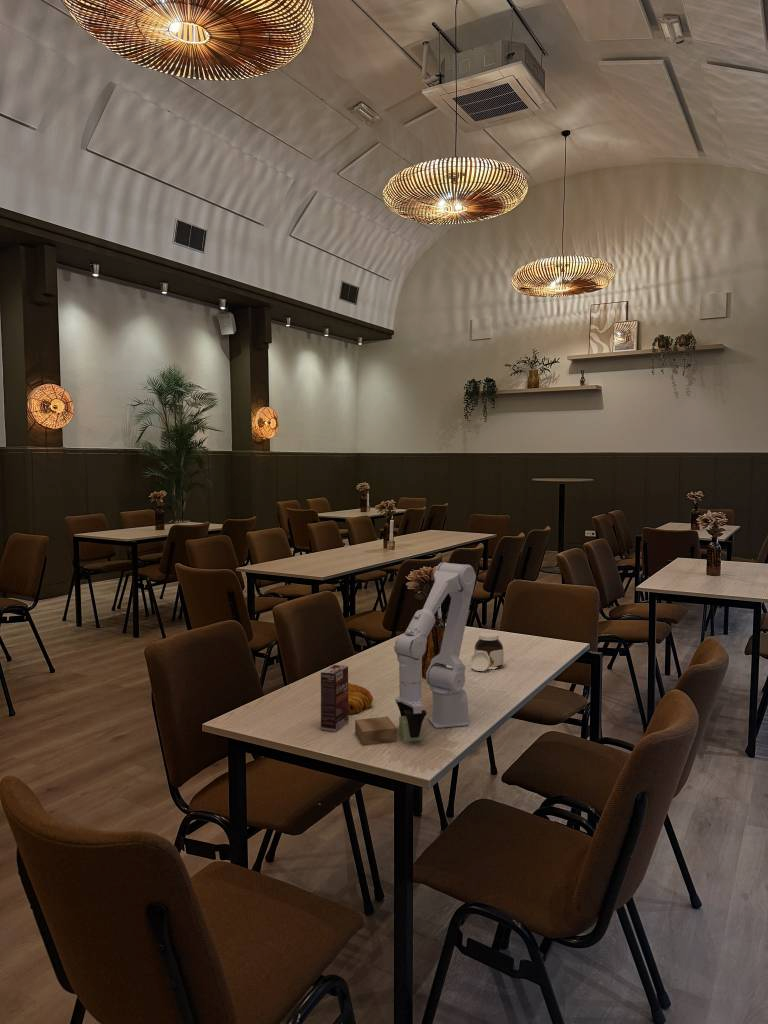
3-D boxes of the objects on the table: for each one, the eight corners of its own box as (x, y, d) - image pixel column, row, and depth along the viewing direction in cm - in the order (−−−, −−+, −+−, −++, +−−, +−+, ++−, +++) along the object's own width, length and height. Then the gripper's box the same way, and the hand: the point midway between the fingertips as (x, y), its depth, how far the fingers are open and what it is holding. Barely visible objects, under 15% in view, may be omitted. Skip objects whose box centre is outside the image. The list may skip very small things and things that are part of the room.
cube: (417, 733, 192) (417, 714, 191) (422, 740, 187) (422, 721, 186) (399, 735, 190) (399, 716, 190) (404, 741, 186) (403, 722, 185)
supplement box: (336, 732, 192) (335, 674, 192) (320, 730, 194) (319, 672, 193) (349, 722, 200) (349, 665, 200) (334, 719, 202) (333, 664, 201)
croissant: (328, 725, 205) (328, 699, 203) (319, 700, 219) (318, 676, 218) (377, 718, 208) (377, 692, 207) (365, 695, 223) (364, 671, 222)
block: (388, 731, 194) (387, 716, 194) (396, 743, 185) (396, 728, 185) (355, 734, 192) (355, 719, 192) (362, 747, 183) (362, 731, 183)
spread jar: (501, 664, 258) (501, 631, 257) (506, 673, 246) (506, 639, 246) (468, 664, 258) (467, 632, 257) (471, 673, 247) (471, 639, 246)
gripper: (389, 674, 194) (389, 723, 195) (402, 690, 180) (402, 743, 181) (414, 672, 195) (415, 721, 196) (429, 687, 181) (429, 740, 182)
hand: (410, 731), depth 188 cm, fingers open, 7 cm apart
